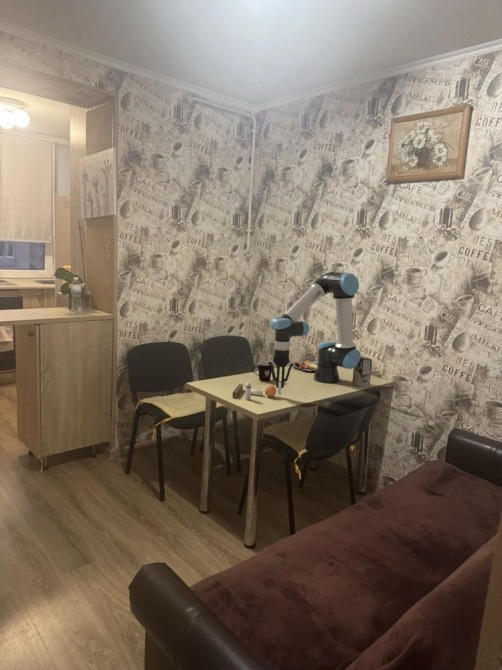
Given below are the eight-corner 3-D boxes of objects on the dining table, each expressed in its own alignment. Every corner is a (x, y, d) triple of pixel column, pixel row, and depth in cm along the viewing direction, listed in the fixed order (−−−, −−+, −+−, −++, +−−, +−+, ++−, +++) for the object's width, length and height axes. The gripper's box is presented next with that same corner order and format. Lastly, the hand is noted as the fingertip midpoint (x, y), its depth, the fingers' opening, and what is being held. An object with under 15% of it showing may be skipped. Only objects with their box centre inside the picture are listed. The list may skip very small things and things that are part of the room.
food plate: (284, 366, 309) (285, 361, 308) (309, 362, 323) (310, 357, 322) (311, 375, 289) (311, 370, 289) (336, 371, 304) (337, 366, 303)
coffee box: (370, 386, 267) (372, 359, 264) (361, 387, 264) (363, 359, 262) (360, 382, 275) (362, 355, 272) (351, 383, 272) (353, 356, 270)
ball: (267, 382, 243) (263, 393, 243) (266, 384, 237) (262, 395, 237) (278, 386, 242) (274, 397, 242) (277, 388, 236) (273, 399, 236)
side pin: (250, 398, 235) (251, 382, 234) (249, 400, 233) (250, 383, 231) (246, 398, 235) (246, 382, 234) (245, 399, 233) (245, 383, 232)
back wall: (242, 389, 251) (242, 384, 250) (236, 398, 235) (236, 392, 235) (239, 389, 251) (239, 384, 250) (232, 397, 235) (232, 392, 235)
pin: (262, 390, 242) (247, 388, 245) (261, 391, 240) (245, 389, 242) (262, 395, 242) (247, 393, 245) (260, 396, 240) (245, 393, 242)
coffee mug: (272, 378, 275) (273, 362, 274) (271, 382, 267) (272, 365, 265) (252, 377, 276) (253, 361, 275) (251, 381, 268) (252, 364, 266)
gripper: (295, 348, 237) (292, 393, 241) (270, 346, 240) (268, 390, 244) (294, 351, 230) (291, 397, 234) (268, 349, 232) (266, 394, 236)
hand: (279, 393), depth 239 cm, fingers closed
